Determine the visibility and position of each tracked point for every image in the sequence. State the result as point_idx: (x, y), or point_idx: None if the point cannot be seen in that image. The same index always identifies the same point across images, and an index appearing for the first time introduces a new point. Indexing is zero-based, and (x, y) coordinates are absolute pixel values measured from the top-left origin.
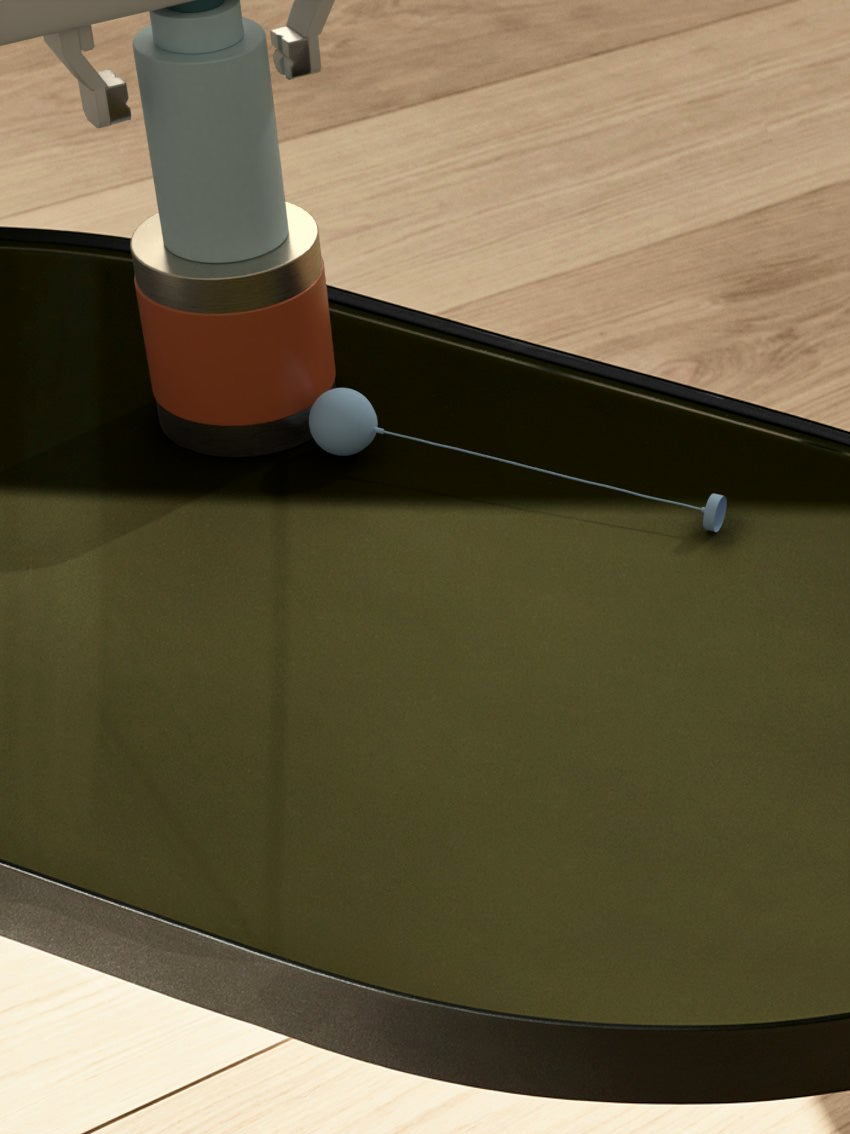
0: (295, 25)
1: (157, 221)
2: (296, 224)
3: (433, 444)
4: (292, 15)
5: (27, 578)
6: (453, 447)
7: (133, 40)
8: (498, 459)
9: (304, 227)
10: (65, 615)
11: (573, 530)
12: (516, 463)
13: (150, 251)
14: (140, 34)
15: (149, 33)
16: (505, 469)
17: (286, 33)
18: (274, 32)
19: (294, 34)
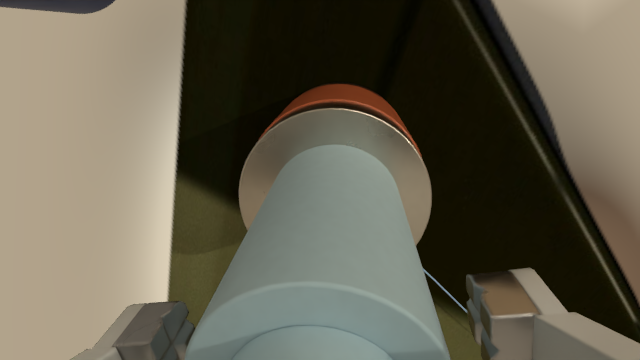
0: (542, 350)
1: (276, 144)
2: (408, 214)
3: (425, 272)
4: (558, 340)
5: (177, 260)
6: (435, 280)
7: (186, 357)
8: (453, 298)
9: (413, 224)
10: (193, 296)
11: (461, 338)
12: (461, 306)
13: (255, 206)
14: (204, 338)
15: (222, 345)
16: (460, 276)
17: (512, 345)
18: (493, 331)
19: (523, 355)
